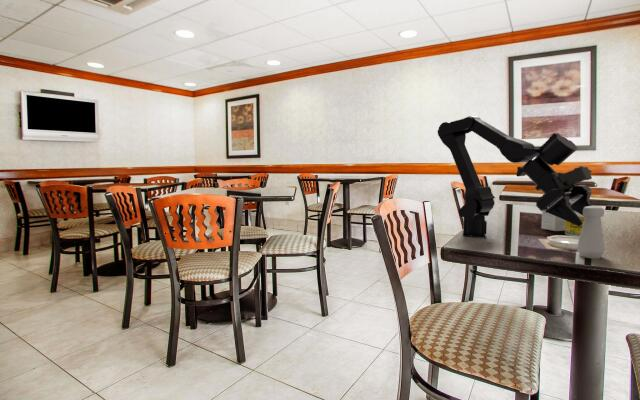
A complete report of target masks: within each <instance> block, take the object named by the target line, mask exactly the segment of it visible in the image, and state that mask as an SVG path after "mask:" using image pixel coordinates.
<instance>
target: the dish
mask: <svg viewBox="0 0 640 400" xmlns="http://www.w3.org/2000/svg"><path fill="white" fill-rule="evenodd" d="M579 237H580V236H572V235H561V234H560V235H559V234H557V235H556V234H555V235H550V236H547V237H546V239H548V244H549V245H551V246H555V247H559V248H564V249H573V250H572V251H578V250H577V244H578V241H579Z"/></svg>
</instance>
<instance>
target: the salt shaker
mask: <svg viewBox="0 0 640 400" xmlns="http://www.w3.org/2000/svg"><path fill="white" fill-rule="evenodd" d="M583 215H584V216H585V220H584V223H583V227H582V230H581V234H580V236H578V237H579V241H578V244H577V250H576V251H577V252H578V254H579V256H580V257H582V258H587V259H593V260H595V259H598V260H599V259H601V258H602V256H603V255H604V254H605V253H606V252H605V250H606V245H605V238H604V233H603V224H602V218H601V217H604V215H605V208H603V207H601V206H594V205H592V206H587V207H584V209H583Z"/></svg>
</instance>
